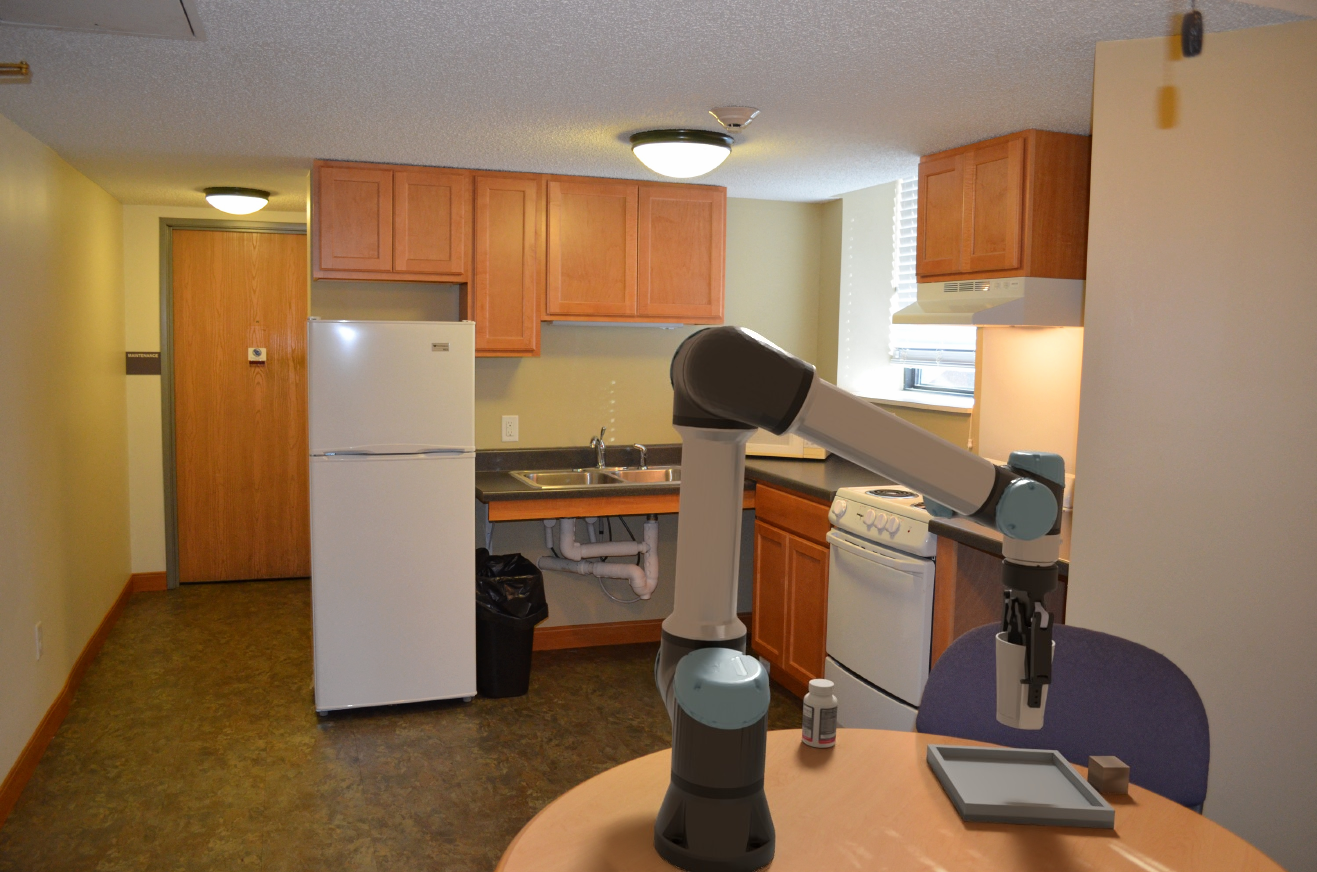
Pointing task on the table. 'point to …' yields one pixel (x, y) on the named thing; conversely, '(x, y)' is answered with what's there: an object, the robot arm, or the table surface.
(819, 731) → the pill bottle
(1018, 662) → the cup
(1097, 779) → the walnut block
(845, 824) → the table surface
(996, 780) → the tray
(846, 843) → the table surface
